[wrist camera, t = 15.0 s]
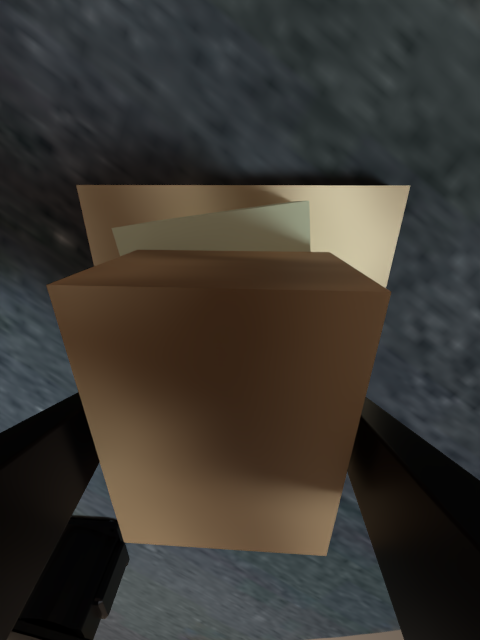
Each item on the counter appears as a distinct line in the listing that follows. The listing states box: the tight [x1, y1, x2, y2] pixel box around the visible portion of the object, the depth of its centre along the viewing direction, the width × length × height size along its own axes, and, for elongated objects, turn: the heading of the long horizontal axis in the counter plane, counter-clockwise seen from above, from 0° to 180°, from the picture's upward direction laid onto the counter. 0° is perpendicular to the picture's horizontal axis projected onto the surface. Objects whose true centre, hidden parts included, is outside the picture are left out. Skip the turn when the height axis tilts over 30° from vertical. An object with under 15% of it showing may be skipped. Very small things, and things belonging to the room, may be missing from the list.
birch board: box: [76, 185, 410, 288], centre depth 14 cm, size 14×12×2 cm
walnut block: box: [47, 250, 391, 556], centre depth 8 cm, size 6×8×4 cm
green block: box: [112, 201, 311, 256], centre depth 12 cm, size 6×10×4 cm, turn 7°
